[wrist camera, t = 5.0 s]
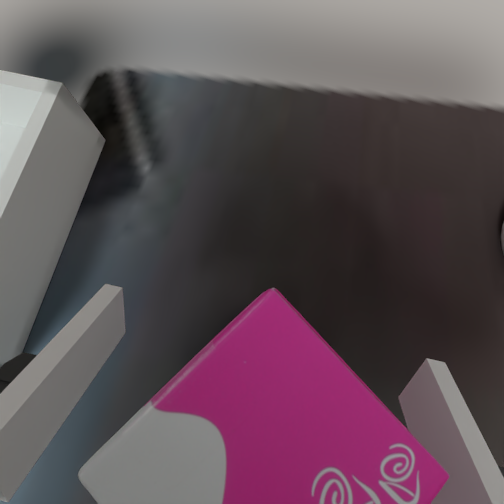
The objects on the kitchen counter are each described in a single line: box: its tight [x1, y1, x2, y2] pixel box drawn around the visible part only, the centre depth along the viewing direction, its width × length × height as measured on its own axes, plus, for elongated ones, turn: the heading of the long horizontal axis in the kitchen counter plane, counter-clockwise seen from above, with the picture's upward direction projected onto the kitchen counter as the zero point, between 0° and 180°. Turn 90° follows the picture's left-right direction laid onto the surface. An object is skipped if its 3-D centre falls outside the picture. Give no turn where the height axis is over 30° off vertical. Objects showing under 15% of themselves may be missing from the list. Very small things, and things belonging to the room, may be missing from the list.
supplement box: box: [78, 288, 450, 504], centre depth 12 cm, size 6×6×11 cm
